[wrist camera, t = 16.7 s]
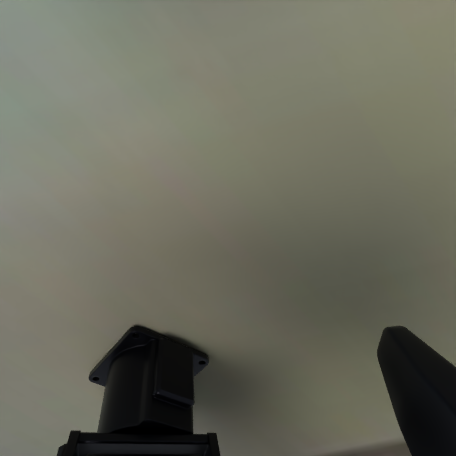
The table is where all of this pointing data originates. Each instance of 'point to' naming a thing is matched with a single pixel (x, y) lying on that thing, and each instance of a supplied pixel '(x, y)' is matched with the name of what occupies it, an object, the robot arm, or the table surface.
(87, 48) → the table surface
